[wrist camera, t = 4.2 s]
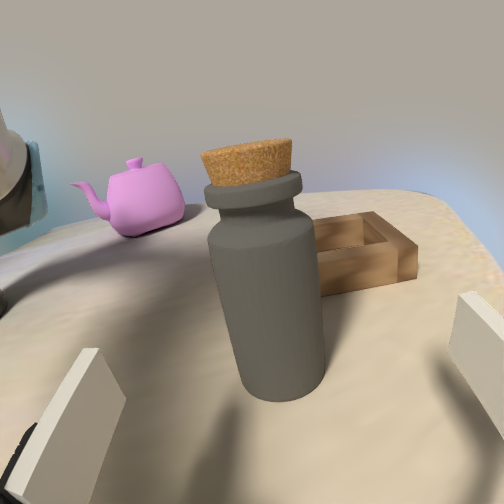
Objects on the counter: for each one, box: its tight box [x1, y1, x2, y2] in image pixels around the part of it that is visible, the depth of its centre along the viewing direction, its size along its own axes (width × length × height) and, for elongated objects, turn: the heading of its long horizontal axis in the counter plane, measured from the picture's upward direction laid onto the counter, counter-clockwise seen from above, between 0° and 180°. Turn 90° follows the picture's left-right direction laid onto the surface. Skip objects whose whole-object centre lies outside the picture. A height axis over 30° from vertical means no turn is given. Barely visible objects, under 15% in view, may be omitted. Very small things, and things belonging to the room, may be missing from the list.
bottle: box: [201, 139, 324, 402], centre depth 19 cm, size 6×6×15 cm
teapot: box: [70, 158, 185, 237], centre depth 65 cm, size 23×21×15 cm
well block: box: [312, 211, 418, 296], centre depth 35 cm, size 13×13×4 cm
